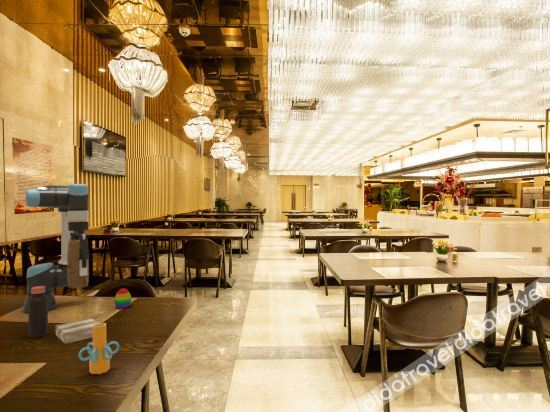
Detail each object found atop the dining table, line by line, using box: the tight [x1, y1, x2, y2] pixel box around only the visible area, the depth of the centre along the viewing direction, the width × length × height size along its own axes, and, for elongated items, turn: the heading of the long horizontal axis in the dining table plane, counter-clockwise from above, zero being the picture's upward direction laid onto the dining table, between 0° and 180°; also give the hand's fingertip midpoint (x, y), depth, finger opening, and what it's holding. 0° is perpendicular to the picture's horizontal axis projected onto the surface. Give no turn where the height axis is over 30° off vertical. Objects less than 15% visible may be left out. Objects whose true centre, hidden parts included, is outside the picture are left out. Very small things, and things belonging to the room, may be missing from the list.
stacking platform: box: [55, 317, 99, 345], centre depth 153 cm, size 14×14×4 cm
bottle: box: [28, 286, 49, 339], centre depth 153 cm, size 7×7×20 cm
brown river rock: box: [67, 239, 90, 289], centre depth 153 cm, size 11×8×20 cm
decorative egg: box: [114, 287, 132, 310], centre depth 195 cm, size 8×8×10 cm
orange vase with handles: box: [77, 322, 120, 375], centre depth 120 cm, size 12×10×15 cm
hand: (78, 273), depth 153 cm, fingers closed on brown river rock, 11 cm apart
